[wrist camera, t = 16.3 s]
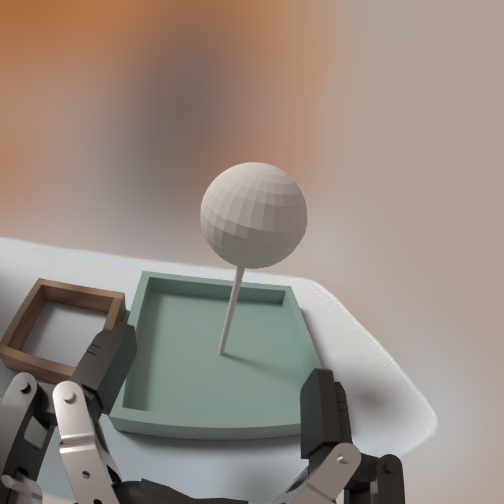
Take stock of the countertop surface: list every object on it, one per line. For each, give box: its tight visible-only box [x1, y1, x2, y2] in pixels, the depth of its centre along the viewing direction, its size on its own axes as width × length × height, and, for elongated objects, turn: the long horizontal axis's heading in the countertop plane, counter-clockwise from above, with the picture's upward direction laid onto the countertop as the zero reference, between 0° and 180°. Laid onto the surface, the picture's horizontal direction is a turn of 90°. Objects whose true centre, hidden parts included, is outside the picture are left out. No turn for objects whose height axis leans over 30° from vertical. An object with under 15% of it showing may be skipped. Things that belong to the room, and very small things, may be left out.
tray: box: [108, 271, 323, 440], centre depth 21 cm, size 15×15×2 cm
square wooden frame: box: [0, 278, 126, 385], centre depth 18 cm, size 10×10×2 cm
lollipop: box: [201, 163, 307, 355], centre depth 17 cm, size 6×6×15 cm
